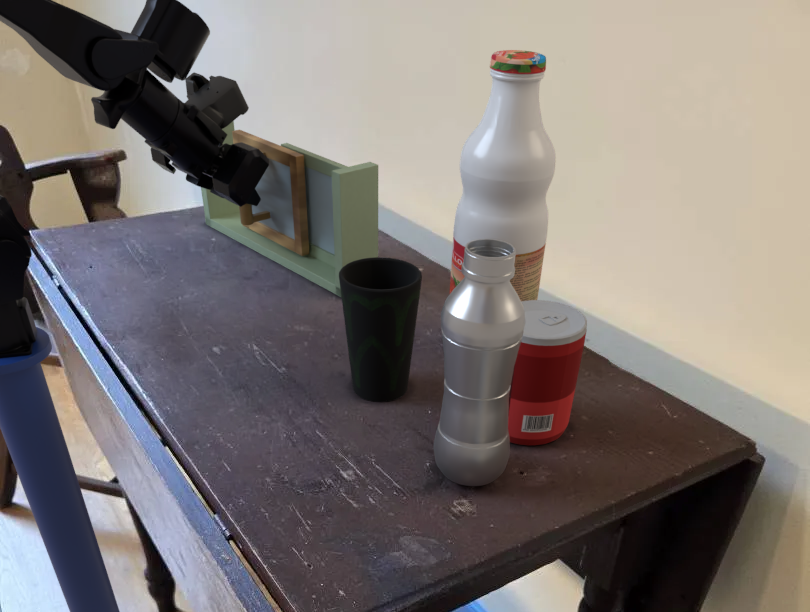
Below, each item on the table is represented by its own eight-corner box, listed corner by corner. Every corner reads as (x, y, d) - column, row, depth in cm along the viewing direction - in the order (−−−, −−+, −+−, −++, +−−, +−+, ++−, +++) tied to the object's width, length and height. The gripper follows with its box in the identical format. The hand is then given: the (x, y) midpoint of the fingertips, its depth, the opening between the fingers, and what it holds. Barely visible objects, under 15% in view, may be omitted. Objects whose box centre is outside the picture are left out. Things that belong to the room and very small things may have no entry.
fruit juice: (525, 371, 83) (569, 69, 64) (438, 360, 84) (457, 60, 66) (534, 332, 90) (575, 48, 71) (453, 322, 91) (474, 41, 72)
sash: (216, 232, 106) (203, 136, 98) (249, 223, 109) (239, 129, 101) (275, 264, 98) (266, 163, 90) (309, 254, 101) (304, 154, 93)
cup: (353, 365, 83) (350, 253, 75) (423, 373, 82) (428, 261, 74) (333, 402, 77) (328, 285, 69) (409, 412, 76) (412, 294, 68)
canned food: (583, 424, 75) (605, 318, 68) (533, 458, 71) (551, 348, 64) (519, 394, 79) (534, 291, 72) (469, 425, 75) (479, 317, 67)
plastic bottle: (477, 506, 65) (503, 274, 52) (416, 473, 69) (425, 248, 55) (521, 472, 69) (555, 248, 56) (460, 442, 72) (479, 224, 59)
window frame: (205, 224, 112) (189, 113, 103) (238, 216, 115) (226, 107, 106) (343, 299, 95) (340, 174, 85) (378, 287, 98) (378, 164, 88)
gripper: (245, 67, 81) (332, 162, 94) (155, 39, 91) (246, 128, 104) (190, 162, 82) (284, 243, 95) (107, 124, 92) (203, 202, 105)
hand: (254, 200), depth 100 cm, fingers closed on sash, 2 cm apart
